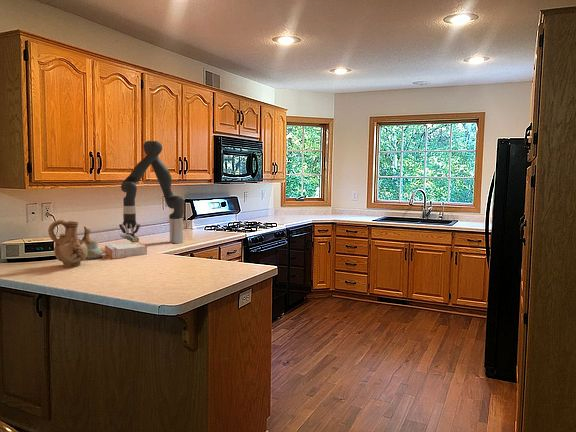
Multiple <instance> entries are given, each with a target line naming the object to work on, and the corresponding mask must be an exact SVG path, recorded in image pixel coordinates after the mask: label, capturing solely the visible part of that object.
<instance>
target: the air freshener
mask: <svg viewBox="0 0 576 432" xmlns="http://www.w3.org/2000/svg"><path fill="white" fill-rule="evenodd" d="M93 241H94V243H92V244H89V245H87V252H88V254H87V257H86V258H85V259H87V260H96V259H99V258H101V256H102V255H103V253H104V252H103V250H102V249H101V248H99V246H98V245H99V244H98V243H99V242H98V241H97V240H93Z"/></svg>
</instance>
